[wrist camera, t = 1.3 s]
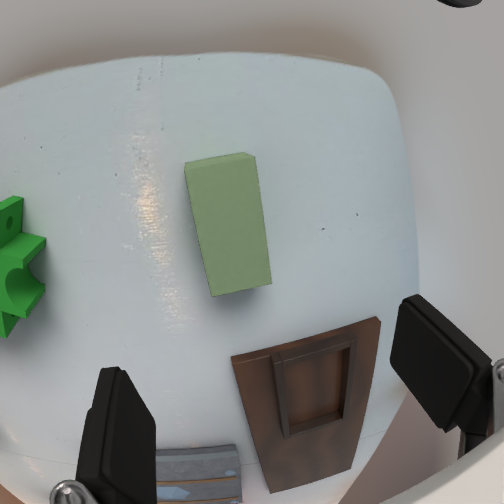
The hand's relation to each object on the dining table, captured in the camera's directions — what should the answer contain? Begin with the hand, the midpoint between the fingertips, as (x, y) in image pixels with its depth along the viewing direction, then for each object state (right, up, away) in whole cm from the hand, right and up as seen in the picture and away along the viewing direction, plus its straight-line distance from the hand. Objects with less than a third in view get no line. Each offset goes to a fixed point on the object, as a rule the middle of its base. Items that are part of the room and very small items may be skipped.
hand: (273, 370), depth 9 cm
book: (-13, -29, +27) cm, 42 cm away
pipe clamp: (-20, +3, +12) cm, 24 cm away
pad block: (-3, +7, +14) cm, 16 cm away
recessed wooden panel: (+8, -22, +28) cm, 37 cm away
